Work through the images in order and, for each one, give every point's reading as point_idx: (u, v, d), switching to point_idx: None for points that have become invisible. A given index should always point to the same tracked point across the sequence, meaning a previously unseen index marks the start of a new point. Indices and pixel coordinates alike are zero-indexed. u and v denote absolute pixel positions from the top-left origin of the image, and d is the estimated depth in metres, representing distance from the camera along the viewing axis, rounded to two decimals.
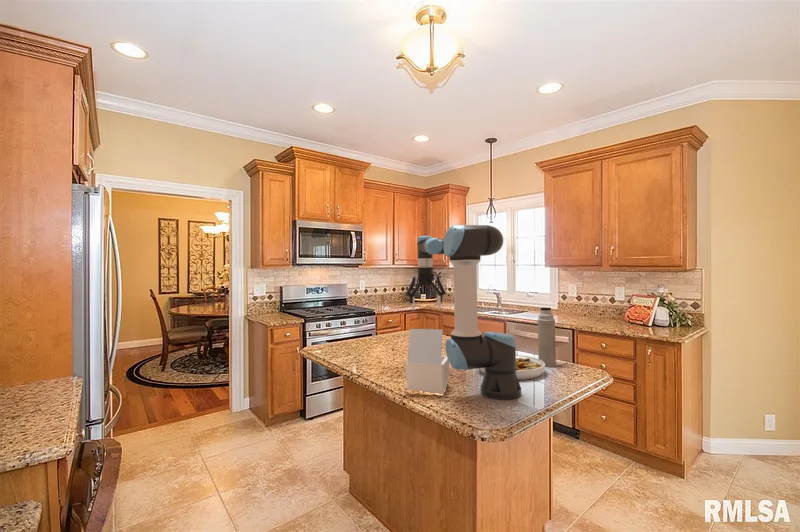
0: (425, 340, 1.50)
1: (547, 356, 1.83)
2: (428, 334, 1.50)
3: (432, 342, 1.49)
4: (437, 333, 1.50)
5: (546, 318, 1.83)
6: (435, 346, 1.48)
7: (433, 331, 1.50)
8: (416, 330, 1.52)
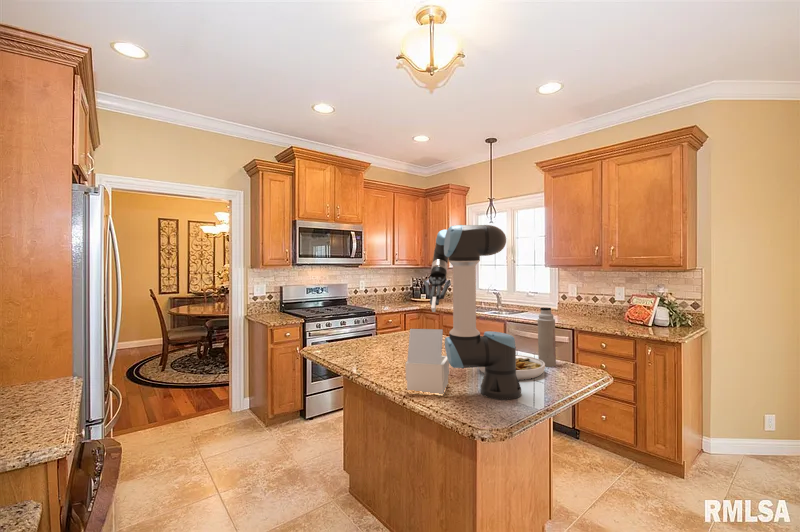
0: (425, 340, 1.50)
1: (547, 356, 1.83)
2: (428, 334, 1.50)
3: (432, 342, 1.49)
4: (437, 333, 1.50)
5: (546, 318, 1.83)
6: (435, 346, 1.48)
7: (433, 331, 1.50)
8: (416, 330, 1.52)
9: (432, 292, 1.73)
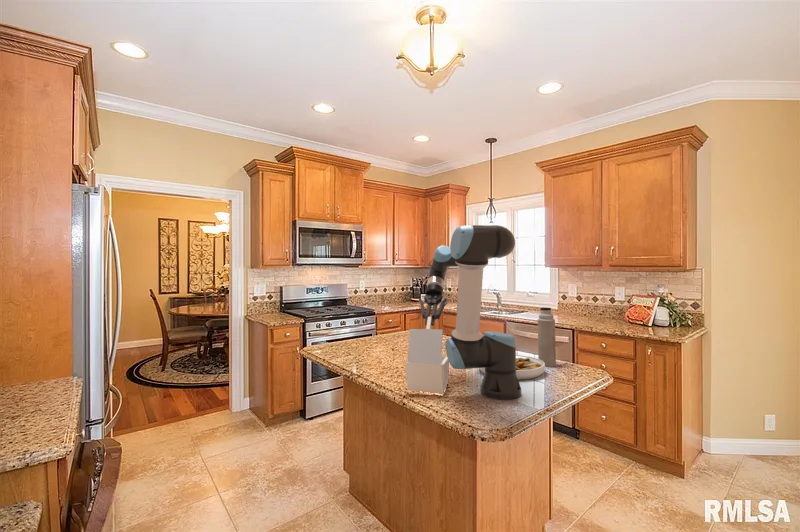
0: (425, 340, 1.50)
1: (547, 356, 1.83)
2: (428, 334, 1.50)
3: (432, 342, 1.49)
4: (437, 333, 1.50)
5: (546, 318, 1.83)
6: (435, 346, 1.48)
7: (433, 331, 1.50)
8: (416, 330, 1.52)
9: (427, 311, 1.64)
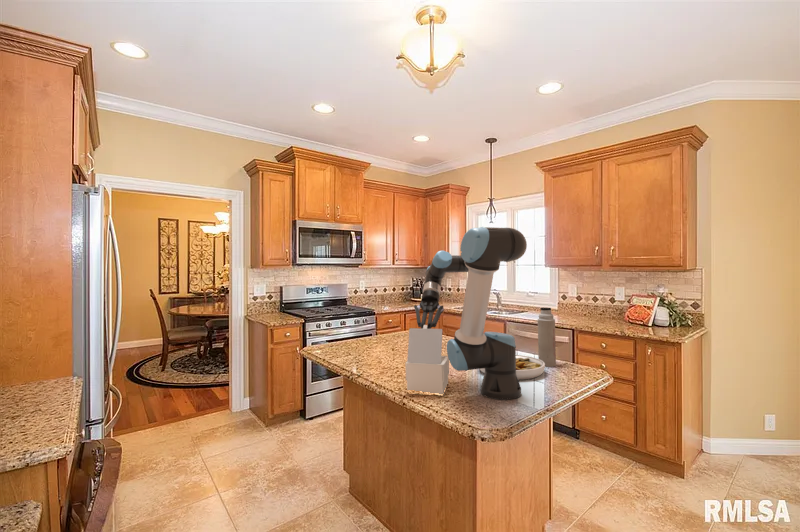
0: (425, 340, 1.49)
1: (547, 356, 1.83)
2: (428, 334, 1.50)
3: (432, 342, 1.48)
4: (437, 333, 1.49)
5: (546, 318, 1.83)
6: (435, 346, 1.47)
7: (432, 330, 1.50)
8: (416, 329, 1.52)
9: (423, 319, 1.57)
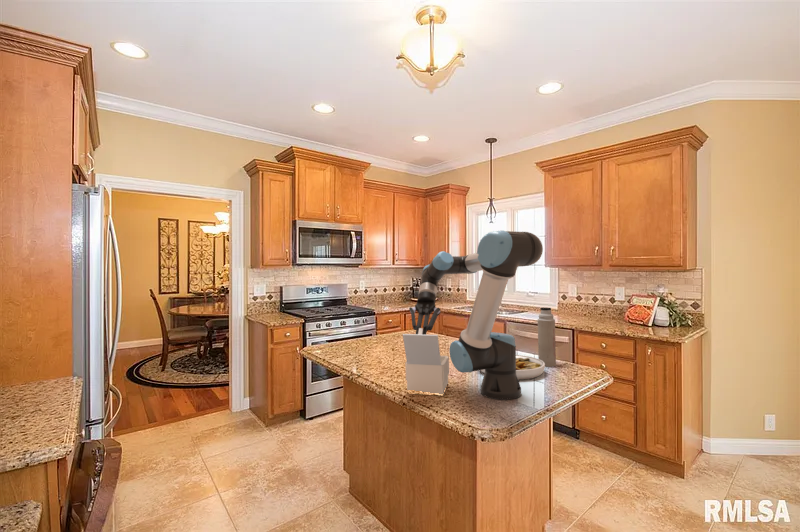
0: (421, 345, 1.43)
1: (547, 356, 1.83)
2: (423, 340, 1.41)
3: (429, 347, 1.42)
4: (432, 339, 1.40)
5: (546, 318, 1.83)
6: (432, 350, 1.42)
7: (428, 337, 1.40)
8: (410, 336, 1.42)
9: (418, 322, 1.50)
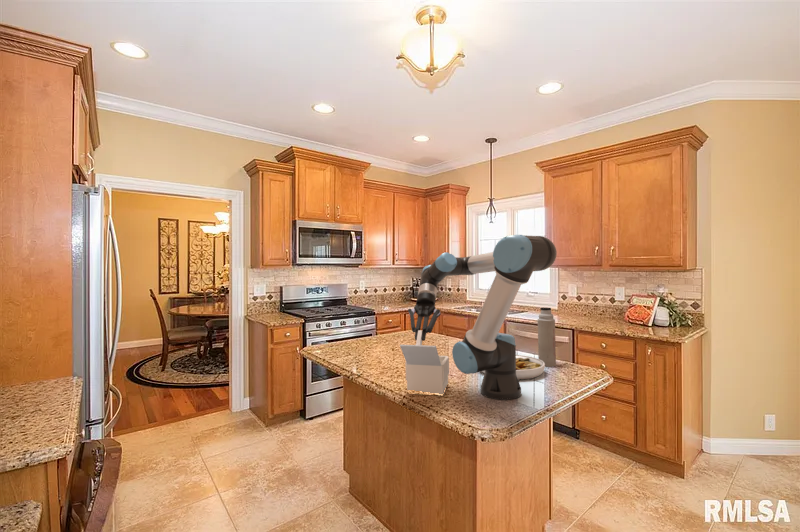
0: (419, 353, 1.40)
1: (547, 356, 1.83)
2: (421, 349, 1.38)
3: (427, 354, 1.40)
4: (431, 349, 1.37)
5: (546, 318, 1.83)
6: (431, 356, 1.40)
7: (426, 347, 1.36)
8: (407, 346, 1.38)
9: (418, 324, 1.44)
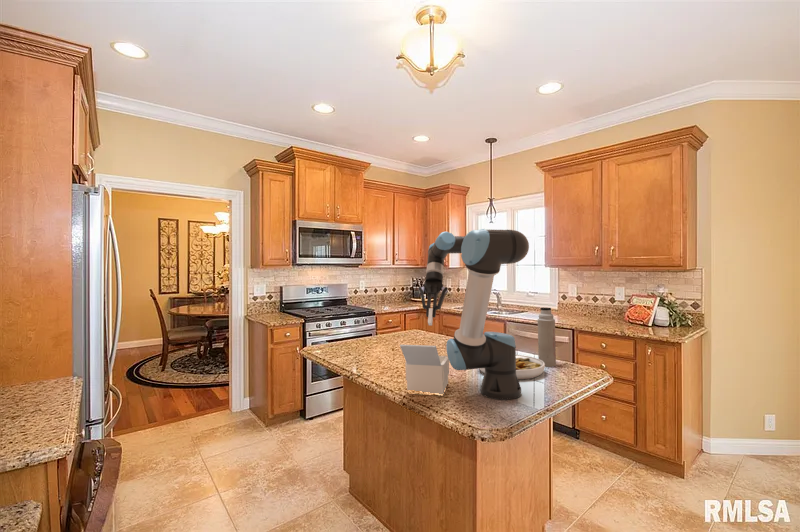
0: (419, 353, 1.40)
1: (547, 356, 1.83)
2: (421, 349, 1.38)
3: (427, 354, 1.40)
4: (431, 349, 1.37)
5: (546, 318, 1.83)
6: (431, 356, 1.40)
7: (426, 347, 1.36)
8: (407, 346, 1.38)
9: (428, 302, 1.60)
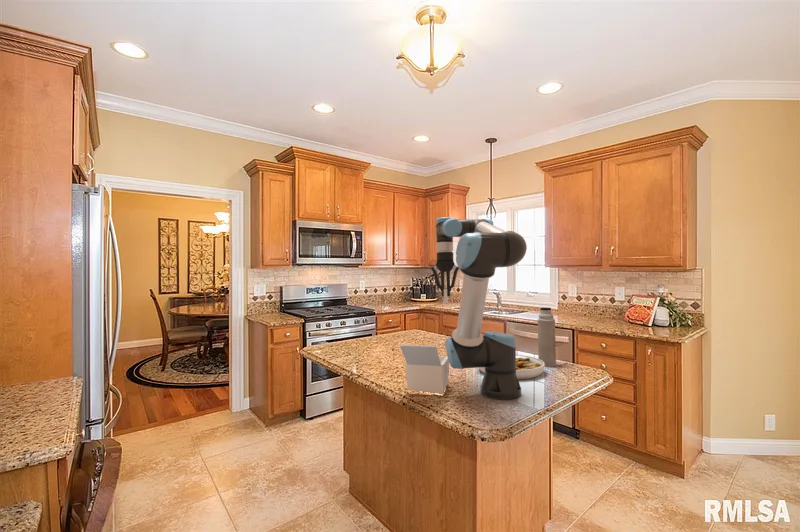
0: (419, 353, 1.40)
1: (547, 356, 1.83)
2: (421, 349, 1.38)
3: (427, 354, 1.40)
4: (431, 349, 1.37)
5: (546, 318, 1.83)
6: (431, 356, 1.40)
7: (426, 347, 1.36)
8: (407, 346, 1.38)
9: (442, 283, 1.73)
